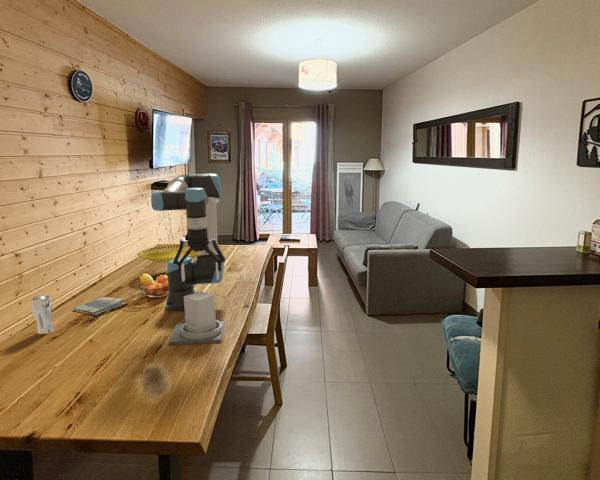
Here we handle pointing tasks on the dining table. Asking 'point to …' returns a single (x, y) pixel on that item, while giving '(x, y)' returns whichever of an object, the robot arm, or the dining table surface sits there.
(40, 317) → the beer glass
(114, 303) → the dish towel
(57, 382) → the dining table surface
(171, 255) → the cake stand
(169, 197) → the robot arm
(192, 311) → the supplement box
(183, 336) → the bottle holder
